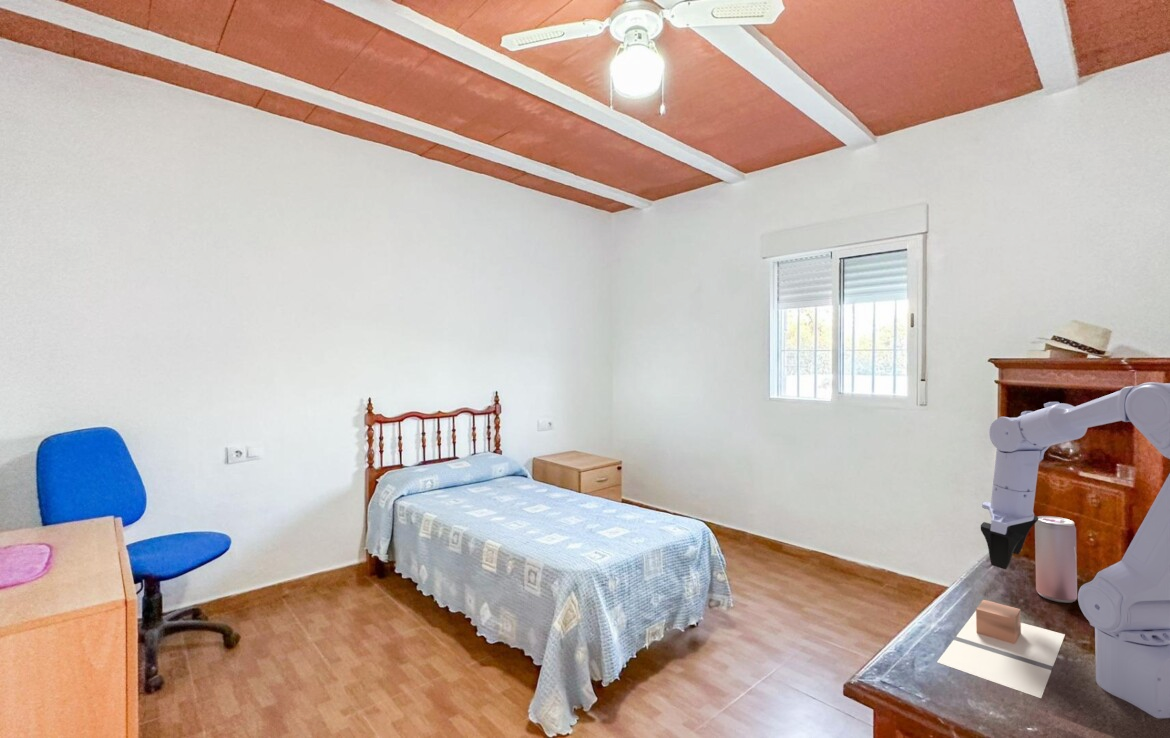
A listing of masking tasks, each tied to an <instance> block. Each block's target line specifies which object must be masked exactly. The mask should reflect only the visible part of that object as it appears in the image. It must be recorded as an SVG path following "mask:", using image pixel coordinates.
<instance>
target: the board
mask: <svg viewBox="0 0 1170 738" xmlns="http://www.w3.org/2000/svg"><path fill="white" fill-rule="evenodd" d="M1065 636H1066V634H1065V633H1061V632H1057V631H1053V630H1050V629H1048V628H1047V629H1046V628H1042V627H1040V626H1036V625H1031V624H1027V623H1024V622H1021V634H1020V636H1019V638H1018V639H1017V641H1016V643H1015V644H1012V643H1009V642H1006V641H1002V640H999V639H995V638H992V637H989V636H985V635H982V634H979V633H977V628H976V610H975V611H974V613H973V614H971V617H970V618H969V619H968V620H967V621H966V623H965V624H964V626H963V627H962V628H961V629H960V631H959V632H958V633H957V634H956V636H955V637H954V639H952V641H951V642H950V644H949V645H948V647H946V649H945V650H944V652H943V653H942V655H941V656H939V659H938V660H937V661H936V663H937V664H939V665H940V664H941V665H943V666H945V667H946V666H947V667H949V668H952V669H955V670H958V671H960V672H963V673H966V674H970V675H972V676H975V677H978V678H980V679H983V680H987V681H990V682H992V683H995V684H998V685H1001V686H1003V687H1006V688H1010V689H1012V690H1016V691H1018V692H1020V693H1021V692H1022V693H1024V694H1026V695H1029V696H1033V697H1036V698H1038V699H1042V697H1043V694H1044V693H1045V690H1046V686H1047V684H1048V682H1049V680H1050V676H1051V674H1052V671H1053V667H1054V665H1055V662H1056V660H1057V657H1058V654H1059V653H1060V652H1059V651H1060V650H1061V646H1062V644H1063V641H1064V640H1065V639H1064V638H1065Z"/></svg>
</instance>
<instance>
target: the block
mask: <svg viewBox="0 0 1170 738" xmlns="http://www.w3.org/2000/svg"><path fill="white" fill-rule="evenodd" d="M975 611H976V628H977V633H979V634H982V635H985V636H989V637H992V638H995V639H999V640H1002V641H1006V642H1009V643H1012V644H1015V643H1016V641H1017V639H1018V638H1019V636H1020V634H1021V623H1022V621H1021V617H1022V616H1021V608H1017V607H1014V606H1010V605H1006V604H1002V603H998V602H994V601H991V600H985V599H982V600H981V602H980V603H979V605H978V606H977V607H976V608H975Z"/></svg>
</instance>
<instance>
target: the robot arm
mask: <svg viewBox="0 0 1170 738" xmlns="http://www.w3.org/2000/svg"><path fill="white" fill-rule="evenodd" d="M1043 407H1044V408H1041V409H1037V410H1035V411H1033V410H1024V411H1022V412H1021V413H1020V415H1019V416H1017V417H1008V416H999V417H998V418H996V419H995V420H994V421H993V422H992V423H991V425H990V427H989V439H990V442H991V444H992V445H993V447H995V448H996V453H995V454H996V455H995V461H994V462H995V463H994V471H993V478H992V479H993V481H992V491H991V497H990V498H991V500H990V501H991V502H990V501H984V502H982V504H981V505H982V506H981V507H982V508H983V509H985V510H988V511H989V514H990V517H991V522H985V521H983V522H982V523H981V524H980V531H981V533H982V535H983V536H984V539H985V541H986V544H987V548H988V554H989V560H990V564H991V566H992V567H993V566H994V567H996V568H1000V569H1003V570H1007V568H1008V567H1009V565H1010V563H1011V560H1012V557H1013V554H1015V555H1020V554H1021V552H1022V549H1023V547H1024V544H1025V542H1026V539H1027V537H1028V534H1029V533H1030V531H1031V529H1032V528H1033V526H1035V523H1036V522H1037V521H1038V516H1037V515H1035V513H1034V506H1035V500H1036V499H1035V498H1036V492H1037V482H1038V475H1039V473H1038V472H1039V466H1040V462H1042V460H1044V455H1045V452H1046V451H1047V450H1048V449H1049V448H1050V447H1051V446H1054V445H1058V444H1062V443H1066V442H1067V443H1068V442H1071V441H1076V440H1079V439H1081V438H1083V437H1084V436H1085V435H1086V433H1087V430H1088V428H1092V427H1098V426H1103V425H1106V424H1107V425H1108V424H1112V423H1116V422H1121V421H1122V422H1125V423H1128V422H1129V423H1131V424H1132V425H1133V426H1134V427H1135V428H1136V429H1137V430H1138V432H1140V433H1141V434H1142V435H1143V437H1145V439H1147V441H1148V442H1149V443H1150V444H1151V445H1152V446H1153V447H1154V448H1155V449H1156V450H1157V451H1158V452H1159V453H1160V454H1161V455H1162V456H1163V457H1165V458H1167V459H1168V460H1170V382H1169V383H1166V382H1164V383H1163V382H1156V381H1155V382H1153V381H1151V382H1150V381H1149V382H1144V383H1141V384H1138V385H1133V386H1126V387H1123V388H1121V389H1120V390H1117V391H1115V392H1113V393H1110V394H1107V395H1104V396H1101V397H1099V398H1098V397H1097V398H1095V399H1092V400H1090V401H1087V402H1084V403H1081V404H1079V405H1076V406H1074V405H1072V404H1069V403H1064V402H1063V403H1062V402H1061V403H1060V402H1059V401H1048V402H1046V403H1043ZM1077 601H1078V606H1079V609H1080V610H1081V612H1082V614H1083V616H1084V617H1085V619H1086V620H1088V622H1089V625H1090V626H1092V627H1093V628H1094V637H1095V638H1094V644H1095V646H1094V647H1095V648H1094V649H1095V682H1096V684H1097V685H1098V686H1099V687H1100V688H1101V689H1102V690H1104V691H1105V692H1107V693H1109V694H1110V695H1112V696H1114V697H1117V698H1119V699H1121V700H1123V701H1124V702H1125V701H1126V702H1127V703H1129V704H1131V705H1133V706H1135V707H1137V708H1138V709H1140V710H1141V711H1144V712H1146V713H1147V714H1148V715H1150V716H1152V717H1154V718H1156V719H1170V473H1169V474H1168V476H1167V477H1166V479H1165V481H1164V482H1163V484H1162V487H1160V490H1159V492H1158V494H1157V495H1156V497H1155V500H1154V501H1153V502H1152V504H1151V506H1150V508H1149V510H1147V513H1146V516H1145V517H1144V519H1143V521H1142V523H1141V524H1140V526H1139V528H1138V529H1137V531H1136V532H1135V535H1134V536H1133V539H1132V540H1131V542H1130V543H1129V546H1128V547H1127V549H1126V551H1125V553H1124V555H1123V557H1122V559H1120V561H1118V562H1116V563H1114V564H1111V565H1109V566H1108V567H1106V568H1104V569H1102V570H1100V571H1098V572H1097V573H1096V575H1095V576H1094V578H1093V579H1092V580H1091V581H1088V582H1086V583H1083V584H1082V585H1081V586H1080V588H1079V589H1078V591H1077Z"/></svg>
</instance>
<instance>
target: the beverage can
mask: <svg viewBox="0 0 1170 738" xmlns="http://www.w3.org/2000/svg"><path fill="white" fill-rule="evenodd" d="M1037 517H1038V521H1037V522H1036V523H1035V524H1034V540H1035V541H1034V544H1035V545H1034V549H1035V551H1034V553H1035V590H1036V592H1037V593H1038V595H1039V596H1041V598H1042V597H1043V598H1044V599H1047V600H1050V601H1054V602H1057V603H1064V604H1067V603H1068V604H1069V603H1070V604H1071V603H1073V602H1076V601H1077V600H1078V571H1077V569H1078V568H1077V567H1078V566H1077V565H1078V564H1077V563H1078V562H1077V559H1078V558H1077V557H1078V556H1077V528H1076V526H1075V524H1076V523H1075V522H1074V521H1073V520H1072V519H1071V520H1070V519H1068V518H1063V517H1059V516H1050V515H1039V516H1037Z"/></svg>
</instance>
